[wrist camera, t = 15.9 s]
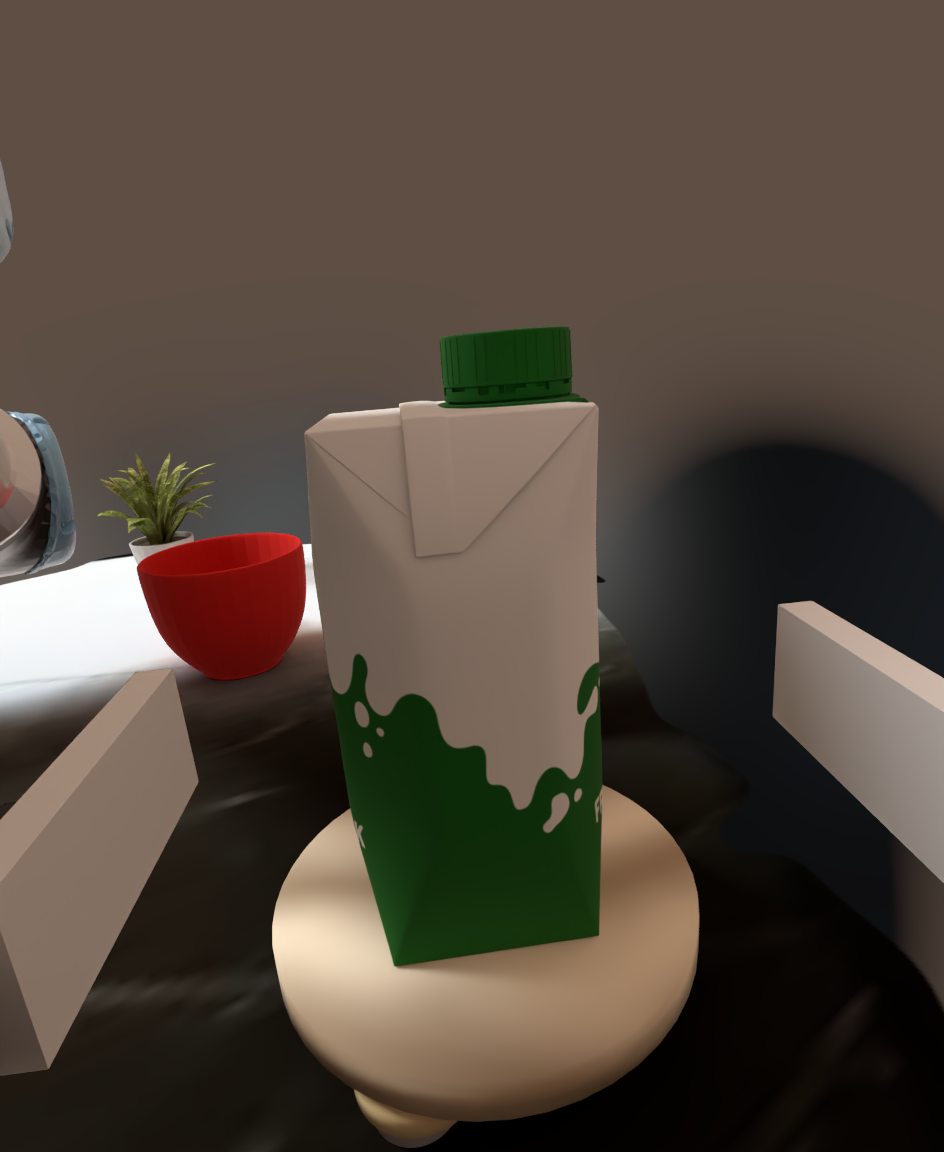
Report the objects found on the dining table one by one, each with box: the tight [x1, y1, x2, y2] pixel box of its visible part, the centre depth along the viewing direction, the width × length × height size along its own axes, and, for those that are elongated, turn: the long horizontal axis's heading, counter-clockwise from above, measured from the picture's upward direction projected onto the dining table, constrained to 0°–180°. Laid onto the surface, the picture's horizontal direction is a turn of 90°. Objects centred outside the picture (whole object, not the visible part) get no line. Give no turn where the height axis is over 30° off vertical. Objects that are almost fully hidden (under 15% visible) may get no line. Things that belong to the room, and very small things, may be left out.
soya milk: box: [304, 327, 602, 967], centre depth 24 cm, size 9×9×20 cm
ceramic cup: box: [137, 533, 306, 680], centre depth 60 cm, size 13×17×10 cm
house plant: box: [99, 454, 214, 564], centre depth 81 cm, size 14×14×16 cm
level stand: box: [272, 785, 699, 1148], centre depth 28 cm, size 16×16×4 cm
